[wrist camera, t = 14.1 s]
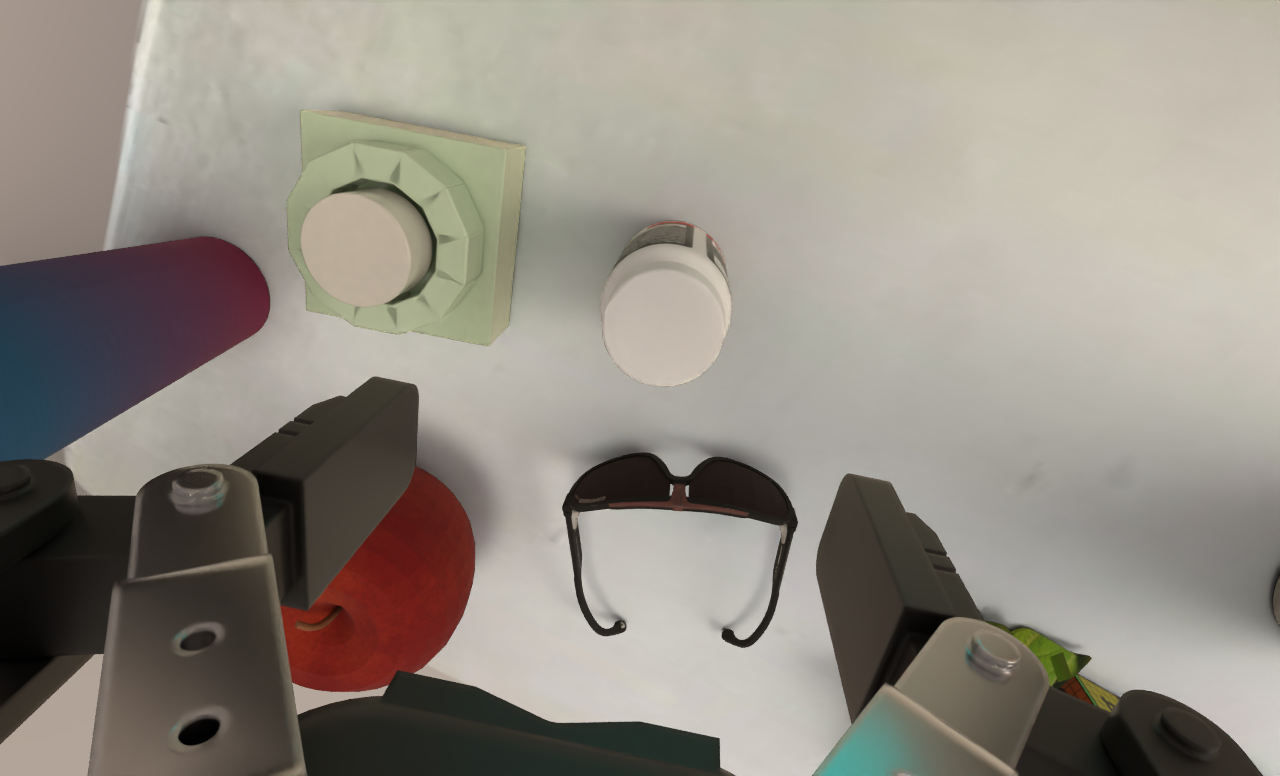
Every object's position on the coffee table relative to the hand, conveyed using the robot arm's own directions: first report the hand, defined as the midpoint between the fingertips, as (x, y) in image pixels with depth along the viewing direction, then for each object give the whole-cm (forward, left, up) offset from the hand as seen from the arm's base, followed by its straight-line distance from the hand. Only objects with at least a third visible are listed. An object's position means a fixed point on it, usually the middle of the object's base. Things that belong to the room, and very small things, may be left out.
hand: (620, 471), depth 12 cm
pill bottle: (0, 0, -18) cm, 18 cm away
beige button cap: (+11, 0, -13) cm, 17 cm away
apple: (+11, +15, -18) cm, 26 cm away
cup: (+21, +5, -18) cm, 28 cm away
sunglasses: (-3, +14, -18) cm, 23 cm away
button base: (+11, 0, -18) cm, 21 cm away
